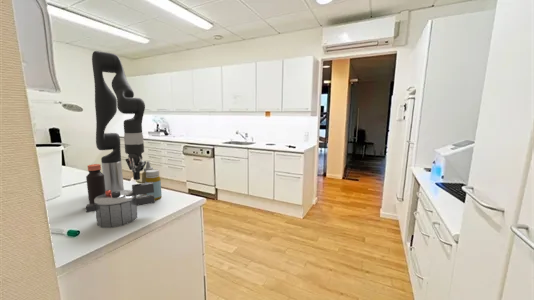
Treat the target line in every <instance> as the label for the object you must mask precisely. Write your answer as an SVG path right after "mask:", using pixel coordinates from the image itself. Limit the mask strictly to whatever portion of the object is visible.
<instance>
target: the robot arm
mask: <svg viewBox="0 0 534 300" xmlns="http://www.w3.org/2000/svg"><path fill="white" fill-rule="evenodd" d="M91 63H92V71H93V72H92V73H93V82H94V107H95V121H96V123H95V126H96V127H95V128H96V129H95V145H96V148H97V149H98V150H99V151H109V150H111V152H110V153H108V154H106V155H103V156H101V158H100V160H101V170H102V173H103V174H104V180H105V189H106V191H107V190H111V192H114V191H122V190H125V187H124V175H123V166H122V164H123V163H122V154H121V153H122V152H121V151H122V150H121V137H120V135H119V133H117V132H105V131H106V128H107V126H108V124H109V123H110V122H111V121H112V120H113V118H114V117H115V115H117V109H118V111H119V112H120V113H122V114H126V115H128V114H129V115H132V114H133V117H131V118H127V119H125V120H124V121H123V132H124V135H123V141H124V153H125V154H126V155H127V158H125V162H126V164H127V167H128V168H129V170H130V171H131V172H132V174H133V175H132V176H133V181H134V180H135V181H139V180H140V179H141V174H140V173H141V172H142V171H143V172H144V168H145V167H146V163H147V161H146V160H143V155H142V154H143V153H145V142H144V135H143V134H144V133H143V125H142V124H143V119H144V118H143V117H144V114H145V110H146V104H145V101H144V100H143V99H142V98H140V97H134V96H135V93H134V90H133V88H132V87H131V85H130V84H129V82H128V80H127V76H126V73H125V70H124V69H125V68H124V67H123V64H122V61H121V59H120V57H119V56H118V55H117V54H115V53H112V52H105V51H97V50H95V51H93V52H92V54H91ZM104 73H111V74H115V76H114V77H113V79H112V80H111V87H112V90H113V91H112V90H111V88H110V87H109V86H108V84H107V83H106V81H105V78H104V75H103V74H104ZM113 92H114V93H113Z"/></svg>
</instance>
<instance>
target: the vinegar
mask: <svg viewBox="0 0 534 300" xmlns="http://www.w3.org/2000/svg"><path fill="white" fill-rule="evenodd" d="M101 170H102V164H101V163H95V164H93V163H92V164H89V165H87V172H88V174H87V175H86V176H85V177H86V179H85V180H86V186H87V197H88V204H92V203H94V199H95V198H96V197H97V196H99V195H102V194H105V191H106V189H105V180H104V174H103V172H101Z"/></svg>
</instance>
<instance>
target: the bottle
mask: <svg viewBox="0 0 534 300" xmlns="http://www.w3.org/2000/svg"><path fill="white" fill-rule="evenodd" d="M160 176H161V175H160V169H154V168H153V169H152V170H147V171H146V183H148V182H153V185H154V192H153V193H147V194H146V196H147V195H154V201H157V200H160V199H161V198H162V182H161V177H160Z"/></svg>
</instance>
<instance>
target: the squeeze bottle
mask: <svg viewBox="0 0 534 300" xmlns="http://www.w3.org/2000/svg"><path fill="white" fill-rule="evenodd" d="M152 169H154V167H152V166H151V163H150V161H146V164H145V167H144V169H143V172H142V173H141V183H146V171H147V170H152Z"/></svg>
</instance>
